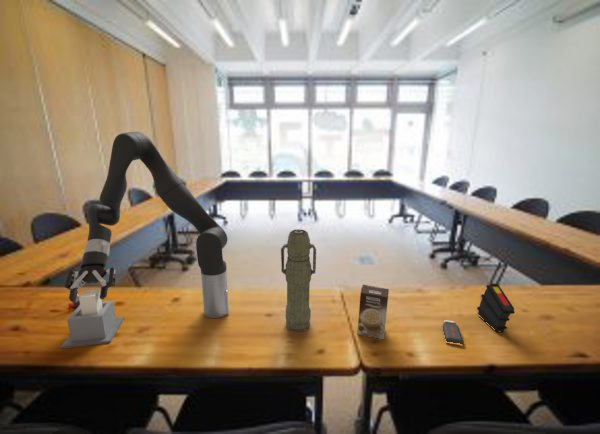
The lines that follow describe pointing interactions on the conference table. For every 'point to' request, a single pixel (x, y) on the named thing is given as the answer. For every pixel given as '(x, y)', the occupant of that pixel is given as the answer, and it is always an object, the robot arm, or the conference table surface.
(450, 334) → the usb drive
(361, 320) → the coffee box
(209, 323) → the conference table surface
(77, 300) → the tow hook
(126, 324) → the conference table surface
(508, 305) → the black ridged case
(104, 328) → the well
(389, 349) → the conference table surface
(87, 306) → the white square block
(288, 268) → the thermos
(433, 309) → the conference table surface
